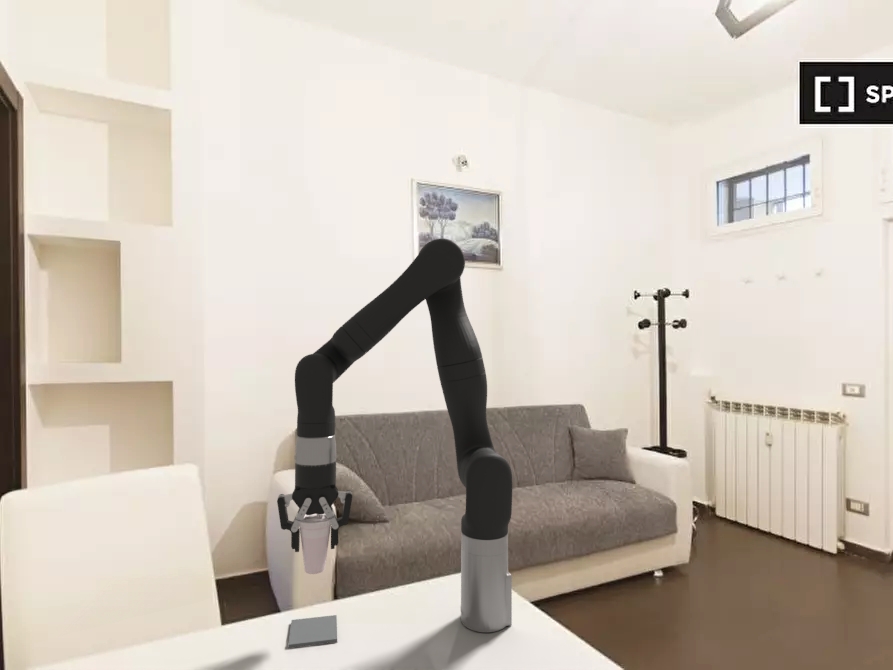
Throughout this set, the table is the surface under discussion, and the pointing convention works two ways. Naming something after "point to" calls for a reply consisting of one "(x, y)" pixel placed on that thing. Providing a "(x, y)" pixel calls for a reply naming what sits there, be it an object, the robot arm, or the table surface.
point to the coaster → (313, 631)
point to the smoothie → (315, 542)
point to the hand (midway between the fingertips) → (314, 548)
